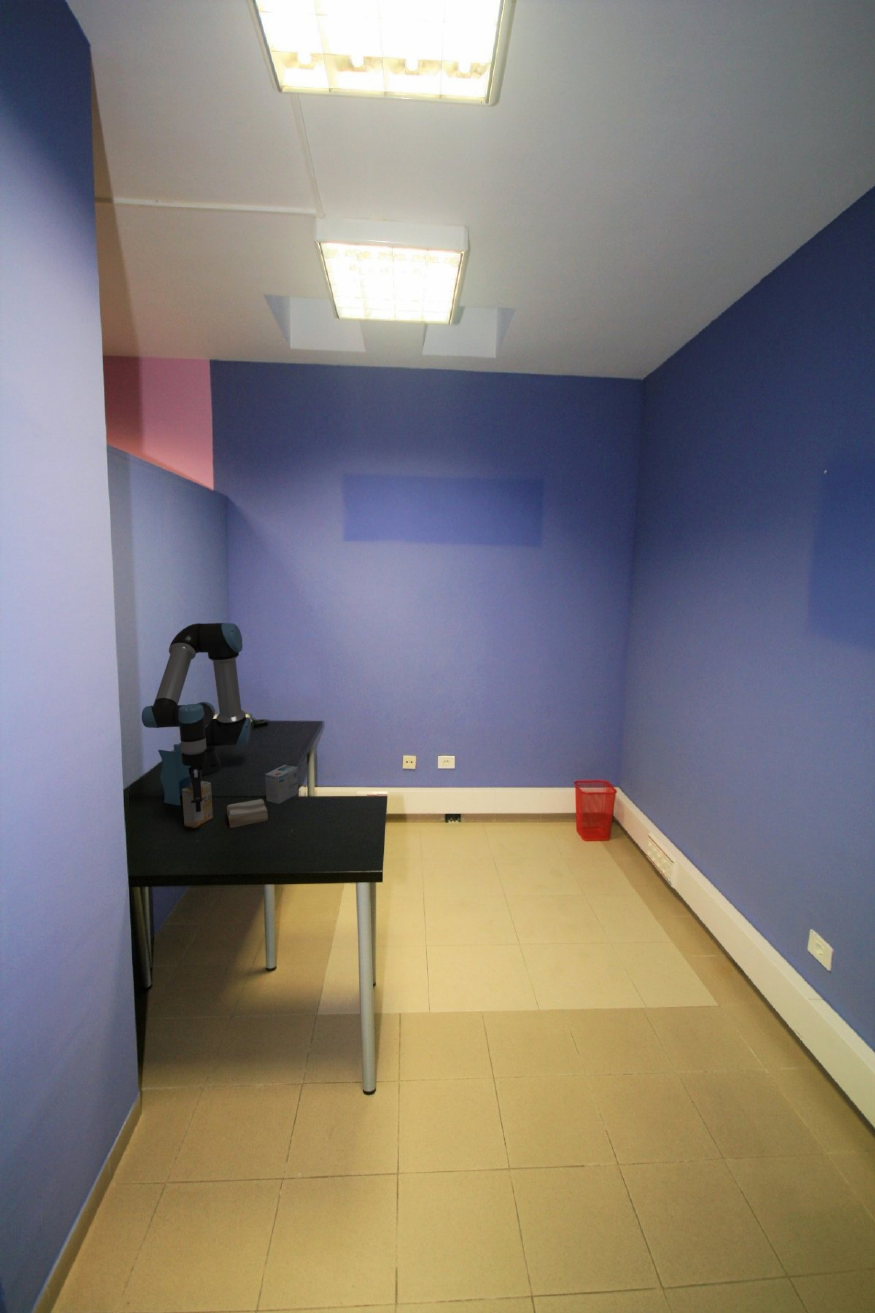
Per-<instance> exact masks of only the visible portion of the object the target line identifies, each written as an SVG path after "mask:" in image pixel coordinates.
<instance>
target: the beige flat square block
mask: <svg viewBox="0 0 875 1313" xmlns="http://www.w3.org/2000/svg"><path fill="white" fill-rule="evenodd" d="M226 813H227V814H226V815H227V819H228V823H229V828H237V827H241V826H246V825H252V824H257V823H261V822H267V821H268V820H269V819H268V818H269V816H268V809H267V806H266V804H265V802H264V799H263V798H258V799H254V800H247V801H243V802H236V803H232V804H228V805H227V806H226Z"/></svg>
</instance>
